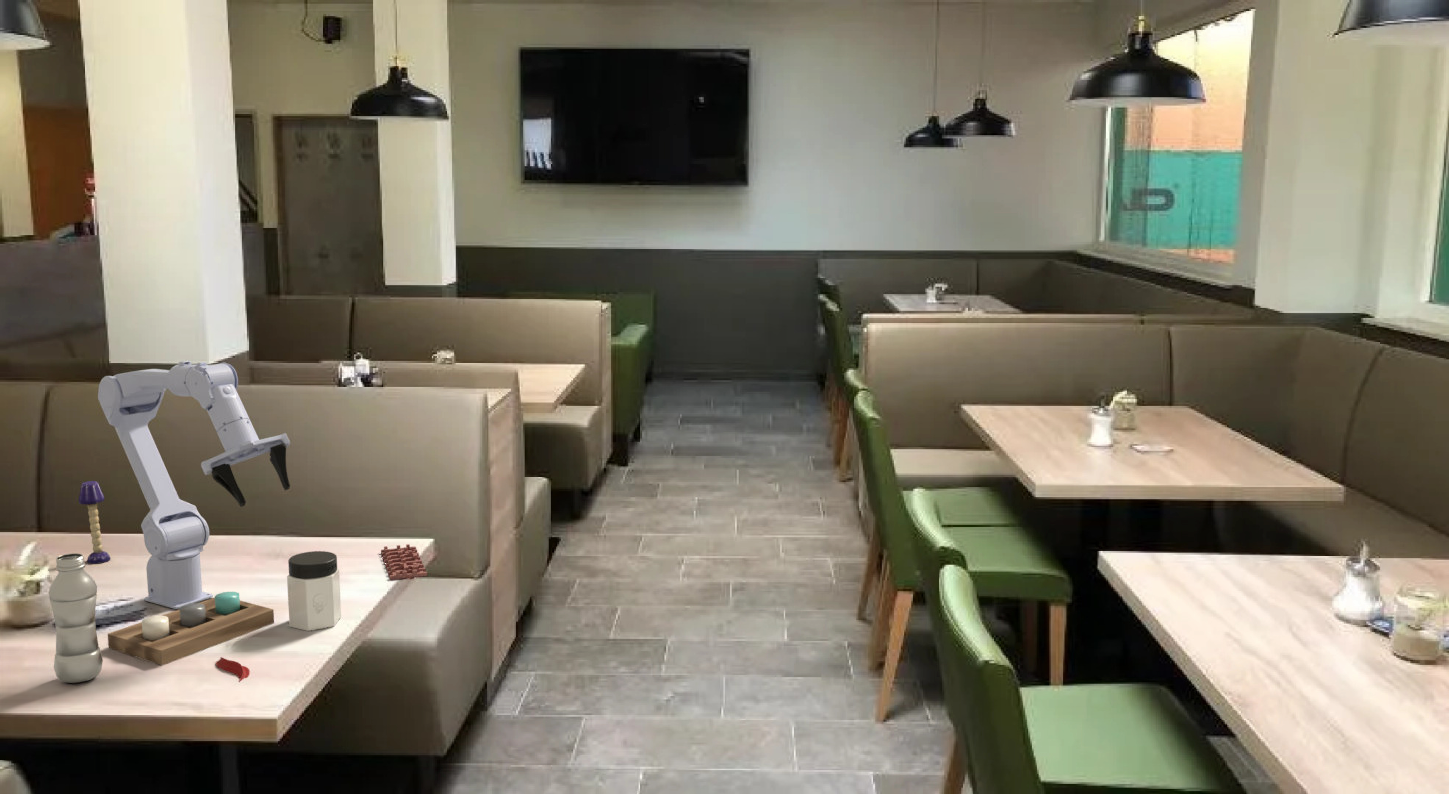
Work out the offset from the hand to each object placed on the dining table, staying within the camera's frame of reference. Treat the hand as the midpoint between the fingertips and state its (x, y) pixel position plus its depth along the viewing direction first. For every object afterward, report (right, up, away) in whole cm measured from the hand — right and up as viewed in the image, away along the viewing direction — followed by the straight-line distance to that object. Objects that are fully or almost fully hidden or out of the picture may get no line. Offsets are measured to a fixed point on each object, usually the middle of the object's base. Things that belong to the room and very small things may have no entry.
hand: (265, 496), depth 198 cm
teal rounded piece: (-9, -21, +7) cm, 24 cm away
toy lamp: (-51, -17, +40) cm, 67 cm away
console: (-13, -24, +1) cm, 27 cm away
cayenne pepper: (0, -27, -13) cm, 30 cm away
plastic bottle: (-22, -27, -17) cm, 39 cm away
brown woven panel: (+12, -18, +40) cm, 46 cm away
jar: (+6, -23, +8) cm, 25 cm away
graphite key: (-13, -22, +1) cm, 25 cm away
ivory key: (-16, -23, -5) cm, 29 cm away
